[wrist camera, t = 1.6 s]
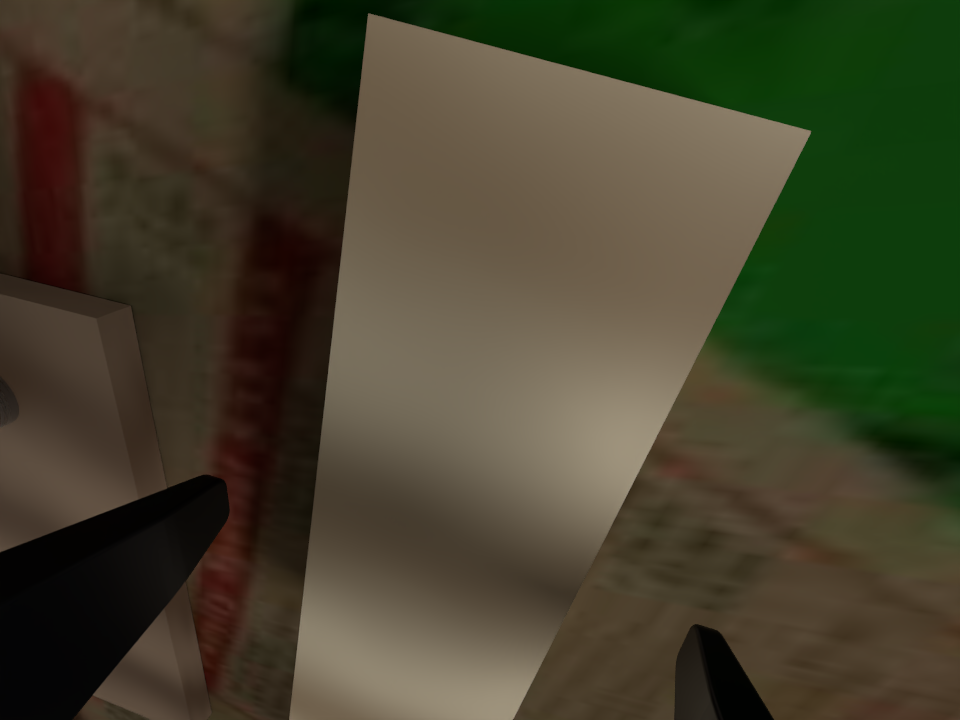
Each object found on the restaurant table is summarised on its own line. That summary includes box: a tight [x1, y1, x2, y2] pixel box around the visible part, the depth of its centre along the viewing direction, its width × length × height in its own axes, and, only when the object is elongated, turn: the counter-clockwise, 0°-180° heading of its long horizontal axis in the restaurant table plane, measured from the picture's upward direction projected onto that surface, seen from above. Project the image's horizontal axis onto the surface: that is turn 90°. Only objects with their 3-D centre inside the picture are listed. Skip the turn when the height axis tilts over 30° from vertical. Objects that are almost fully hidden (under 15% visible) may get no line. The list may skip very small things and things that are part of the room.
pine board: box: [289, 13, 811, 720], centre depth 11 cm, size 16×5×4 cm, turn 166°
